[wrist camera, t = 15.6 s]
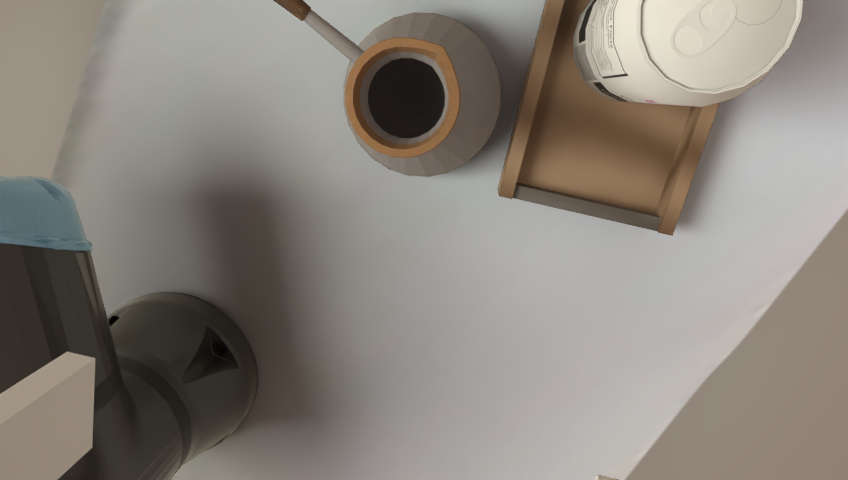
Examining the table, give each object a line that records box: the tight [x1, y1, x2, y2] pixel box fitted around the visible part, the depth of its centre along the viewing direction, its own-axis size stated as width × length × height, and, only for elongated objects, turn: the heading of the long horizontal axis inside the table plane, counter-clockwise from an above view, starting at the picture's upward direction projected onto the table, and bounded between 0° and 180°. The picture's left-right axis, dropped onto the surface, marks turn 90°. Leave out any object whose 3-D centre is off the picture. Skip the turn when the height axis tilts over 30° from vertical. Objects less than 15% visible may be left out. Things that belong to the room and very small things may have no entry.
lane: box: [498, 0, 720, 235], centre depth 36 cm, size 24×13×8 cm, turn 168°
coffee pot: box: [274, 0, 501, 177], centre depth 34 cm, size 21×12×15 cm, turn 50°
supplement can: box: [573, 0, 803, 107], centre depth 31 cm, size 8×8×15 cm
